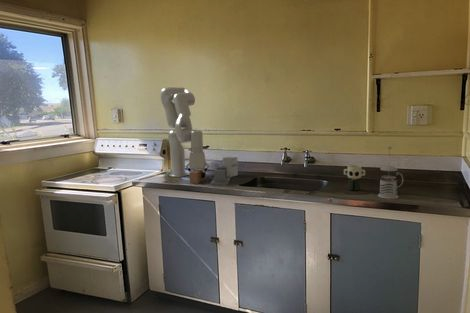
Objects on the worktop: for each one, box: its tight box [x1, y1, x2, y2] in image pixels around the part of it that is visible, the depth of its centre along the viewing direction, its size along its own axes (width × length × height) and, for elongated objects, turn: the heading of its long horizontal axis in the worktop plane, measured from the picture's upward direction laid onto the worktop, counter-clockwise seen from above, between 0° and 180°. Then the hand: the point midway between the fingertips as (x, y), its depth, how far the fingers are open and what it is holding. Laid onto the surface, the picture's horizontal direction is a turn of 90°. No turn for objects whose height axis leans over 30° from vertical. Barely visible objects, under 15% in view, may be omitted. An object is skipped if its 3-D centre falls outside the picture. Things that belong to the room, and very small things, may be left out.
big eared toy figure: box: [343, 164, 366, 191], centre depth 203 cm, size 11×7×13 cm, turn 69°
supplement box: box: [222, 156, 239, 178], centre depth 253 cm, size 7×7×13 cm
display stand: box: [210, 165, 232, 186], centre depth 235 cm, size 10×22×8 cm, turn 176°
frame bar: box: [188, 167, 207, 185], centre depth 239 cm, size 5×18×7 cm, turn 168°
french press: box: [377, 145, 404, 199], centre depth 186 cm, size 10×12×25 cm
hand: (198, 178), depth 240 cm, fingers open, 6 cm apart
